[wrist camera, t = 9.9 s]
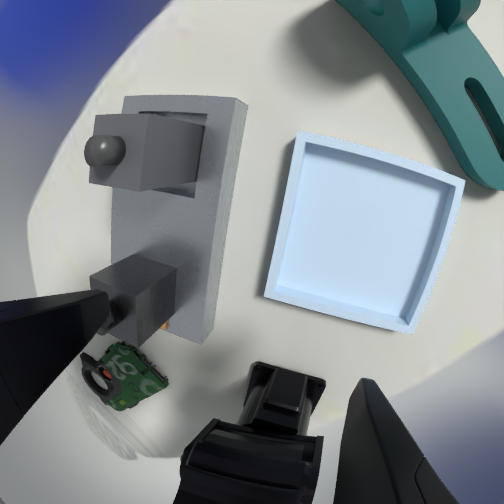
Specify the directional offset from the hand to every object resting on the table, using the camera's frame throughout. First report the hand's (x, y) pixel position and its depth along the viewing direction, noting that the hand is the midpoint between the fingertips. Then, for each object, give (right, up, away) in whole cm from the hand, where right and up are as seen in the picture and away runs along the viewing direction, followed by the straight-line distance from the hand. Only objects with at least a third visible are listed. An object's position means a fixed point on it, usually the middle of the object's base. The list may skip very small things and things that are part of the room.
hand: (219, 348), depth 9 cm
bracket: (+15, +16, +5) cm, 22 cm away
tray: (+9, +4, +10) cm, 14 cm away
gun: (-16, -12, +23) cm, 31 cm away
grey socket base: (-5, +6, +13) cm, 15 cm away
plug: (-4, +10, +11) cm, 16 cm away
